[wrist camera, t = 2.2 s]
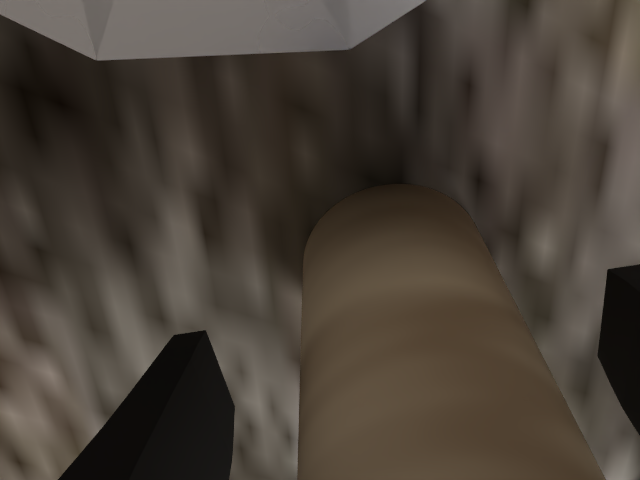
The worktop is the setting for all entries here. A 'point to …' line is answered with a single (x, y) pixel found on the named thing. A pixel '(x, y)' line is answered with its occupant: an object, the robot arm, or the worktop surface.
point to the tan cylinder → (421, 353)
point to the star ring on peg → (204, 25)
